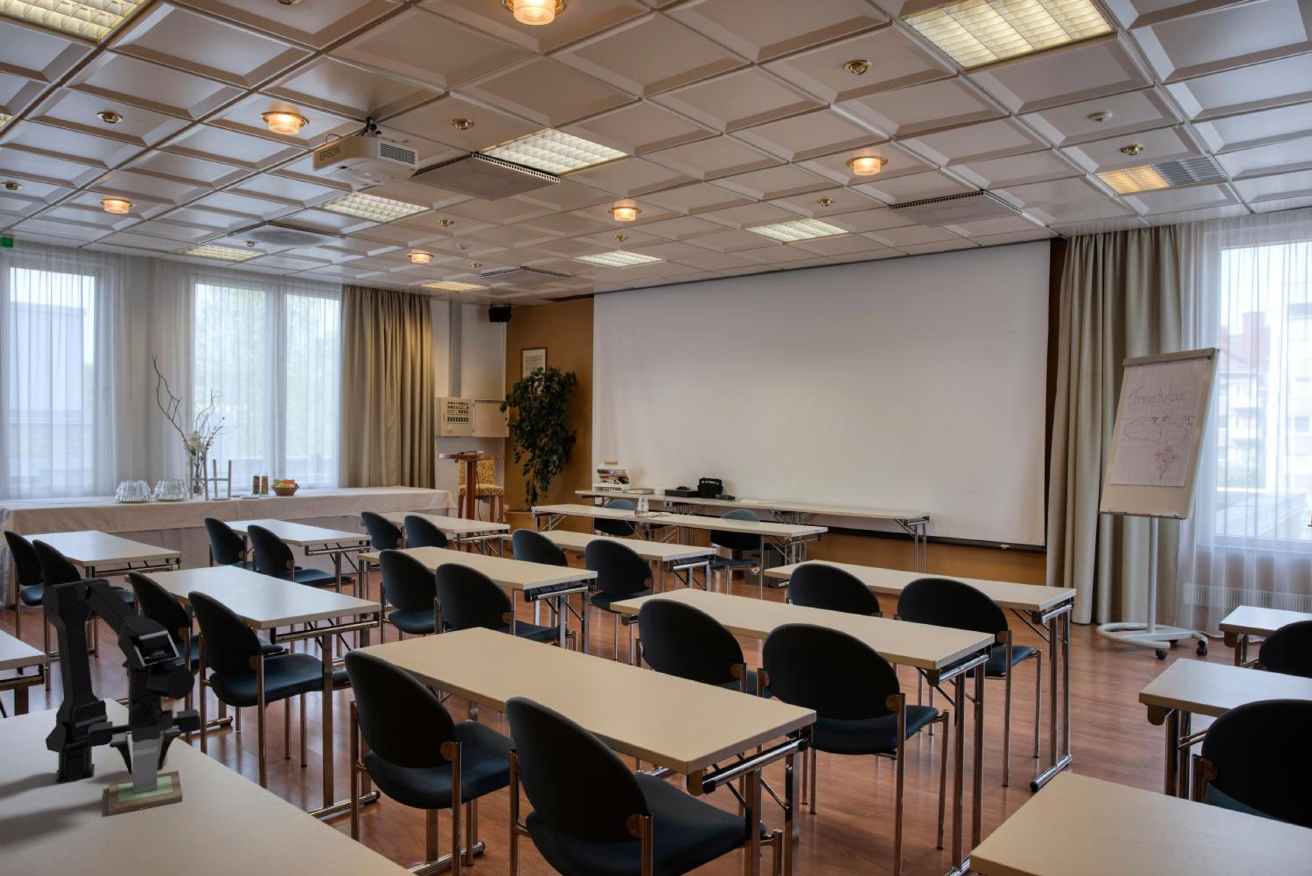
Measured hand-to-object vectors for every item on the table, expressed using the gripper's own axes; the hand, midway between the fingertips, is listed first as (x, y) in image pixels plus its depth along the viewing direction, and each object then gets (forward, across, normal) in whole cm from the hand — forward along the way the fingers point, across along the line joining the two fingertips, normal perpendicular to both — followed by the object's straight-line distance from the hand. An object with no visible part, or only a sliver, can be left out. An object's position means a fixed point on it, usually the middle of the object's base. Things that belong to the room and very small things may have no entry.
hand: (145, 770), depth 167 cm
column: (+4, 0, 0) cm, 4 cm away
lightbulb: (+5, +3, +13) cm, 14 cm away
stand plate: (+5, 0, 0) cm, 5 cm away
